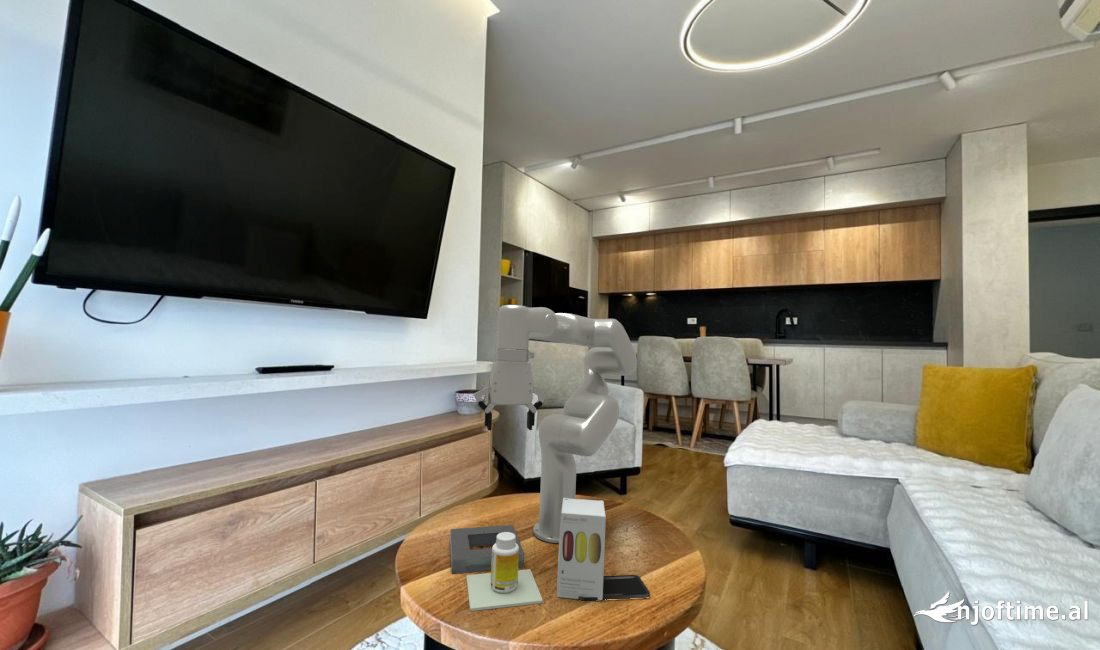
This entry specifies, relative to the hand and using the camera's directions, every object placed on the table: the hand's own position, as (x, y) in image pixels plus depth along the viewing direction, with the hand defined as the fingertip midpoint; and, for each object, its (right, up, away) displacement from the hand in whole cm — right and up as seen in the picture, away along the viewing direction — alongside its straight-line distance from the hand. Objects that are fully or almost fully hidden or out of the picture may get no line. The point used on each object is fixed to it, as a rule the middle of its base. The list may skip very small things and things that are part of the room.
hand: (509, 429), depth 102 cm
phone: (+22, -31, -12) cm, 40 cm away
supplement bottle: (0, -29, -13) cm, 32 cm away
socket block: (-6, -30, +1) cm, 31 cm away
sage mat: (0, -30, -14) cm, 33 cm away
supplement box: (+16, -31, -12) cm, 36 cm away
